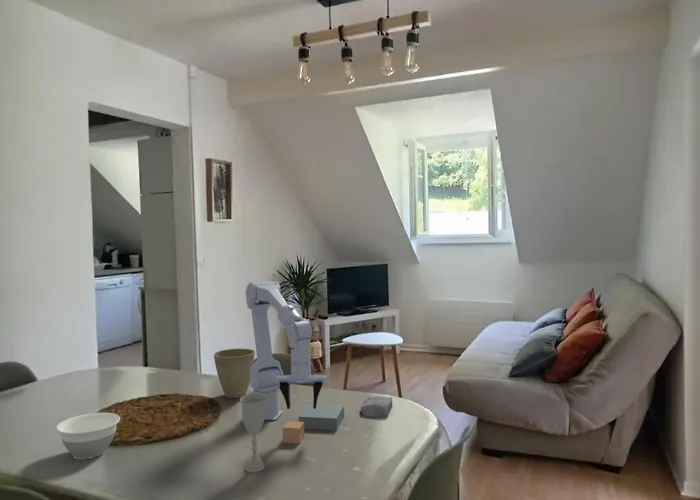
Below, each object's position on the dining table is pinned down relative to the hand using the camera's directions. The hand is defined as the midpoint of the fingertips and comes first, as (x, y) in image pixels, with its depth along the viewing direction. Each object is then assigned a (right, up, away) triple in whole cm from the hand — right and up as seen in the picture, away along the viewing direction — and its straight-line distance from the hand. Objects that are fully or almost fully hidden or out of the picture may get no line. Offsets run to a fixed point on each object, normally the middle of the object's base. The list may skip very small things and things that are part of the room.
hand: (301, 407), depth 157 cm
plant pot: (-28, -8, +41) cm, 51 cm away
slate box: (+5, -9, +12) cm, 16 cm away
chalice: (-10, -10, -20) cm, 24 cm away
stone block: (+23, -8, +22) cm, 33 cm away
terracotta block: (-2, -9, -2) cm, 9 cm away
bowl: (-58, -10, -8) cm, 59 cm away
